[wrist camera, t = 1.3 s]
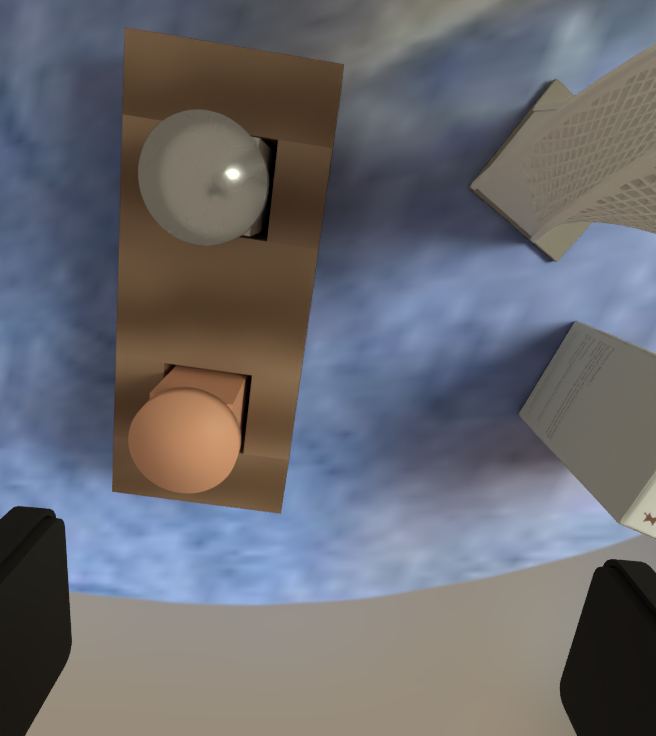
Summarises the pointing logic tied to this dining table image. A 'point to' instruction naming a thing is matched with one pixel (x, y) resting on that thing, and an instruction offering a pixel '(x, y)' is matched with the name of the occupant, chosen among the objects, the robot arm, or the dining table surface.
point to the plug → (205, 178)
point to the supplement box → (602, 421)
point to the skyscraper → (580, 160)
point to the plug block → (223, 253)
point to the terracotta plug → (190, 429)
